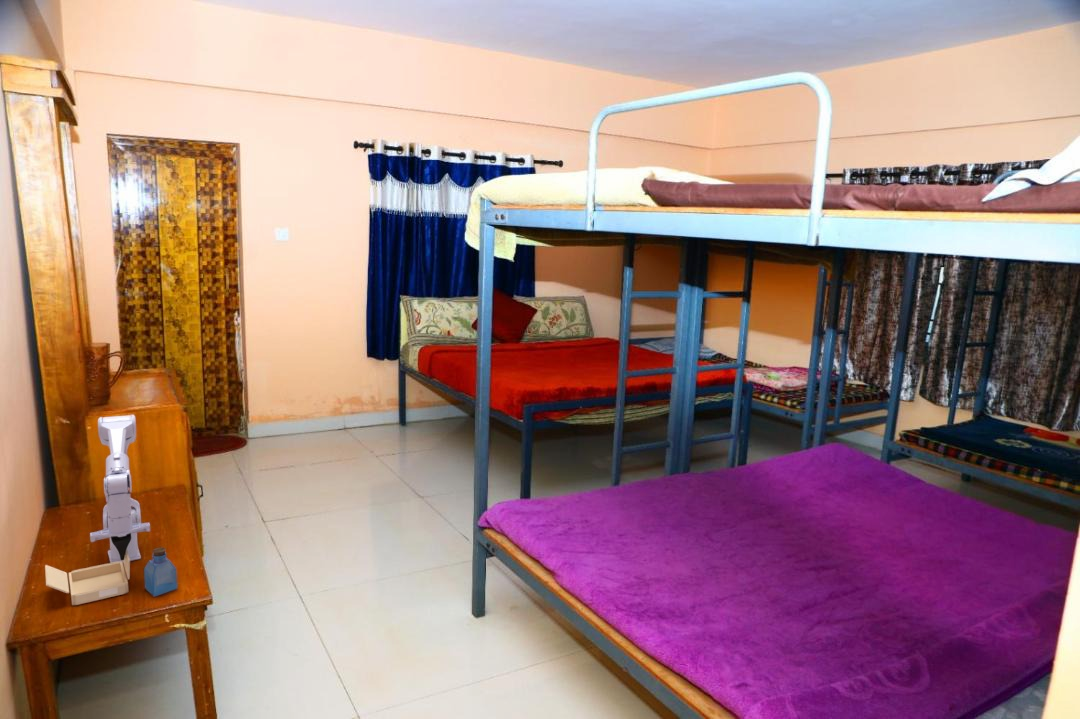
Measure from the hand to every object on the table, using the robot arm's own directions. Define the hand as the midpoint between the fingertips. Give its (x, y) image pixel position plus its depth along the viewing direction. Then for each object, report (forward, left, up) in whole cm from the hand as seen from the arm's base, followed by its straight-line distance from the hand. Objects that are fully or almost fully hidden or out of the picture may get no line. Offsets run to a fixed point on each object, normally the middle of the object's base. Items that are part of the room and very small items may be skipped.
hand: (122, 558), depth 198 cm
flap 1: (0, -13, -4) cm, 14 cm away
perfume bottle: (+9, +8, -8) cm, 14 cm away
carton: (0, -6, -7) cm, 10 cm away
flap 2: (0, +1, -4) cm, 4 cm away
